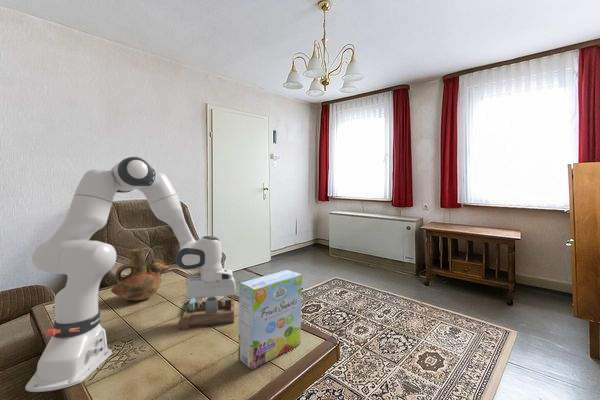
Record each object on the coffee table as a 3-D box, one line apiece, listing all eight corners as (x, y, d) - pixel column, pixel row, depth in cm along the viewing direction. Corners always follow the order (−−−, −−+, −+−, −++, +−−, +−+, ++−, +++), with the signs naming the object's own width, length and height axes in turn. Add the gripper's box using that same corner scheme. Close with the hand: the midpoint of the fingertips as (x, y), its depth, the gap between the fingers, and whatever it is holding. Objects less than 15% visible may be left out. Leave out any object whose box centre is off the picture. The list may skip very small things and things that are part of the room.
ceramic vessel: (173, 298, 142) (171, 249, 141) (111, 310, 129) (109, 256, 127) (168, 288, 157) (166, 243, 156) (111, 298, 143) (110, 248, 142)
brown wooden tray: (233, 324, 116) (233, 313, 116) (178, 330, 111) (178, 319, 111) (234, 296, 145) (234, 288, 144) (190, 300, 140) (190, 291, 140)
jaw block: (217, 316, 121) (216, 299, 120) (205, 317, 120) (205, 300, 119) (217, 312, 125) (217, 295, 125) (207, 313, 124) (206, 296, 124)
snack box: (253, 372, 86) (253, 289, 85) (237, 360, 92) (236, 282, 91) (302, 344, 102) (302, 273, 100) (286, 335, 108) (285, 268, 106)
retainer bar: (193, 310, 126) (192, 303, 126) (189, 310, 126) (189, 303, 126) (197, 298, 140) (197, 291, 140) (193, 298, 139) (193, 292, 139)
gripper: (184, 278, 116) (184, 311, 116) (235, 274, 120) (235, 307, 121) (186, 273, 122) (187, 305, 123) (235, 270, 126) (235, 301, 127)
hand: (211, 306), depth 122 cm, fingers open, 8 cm apart
